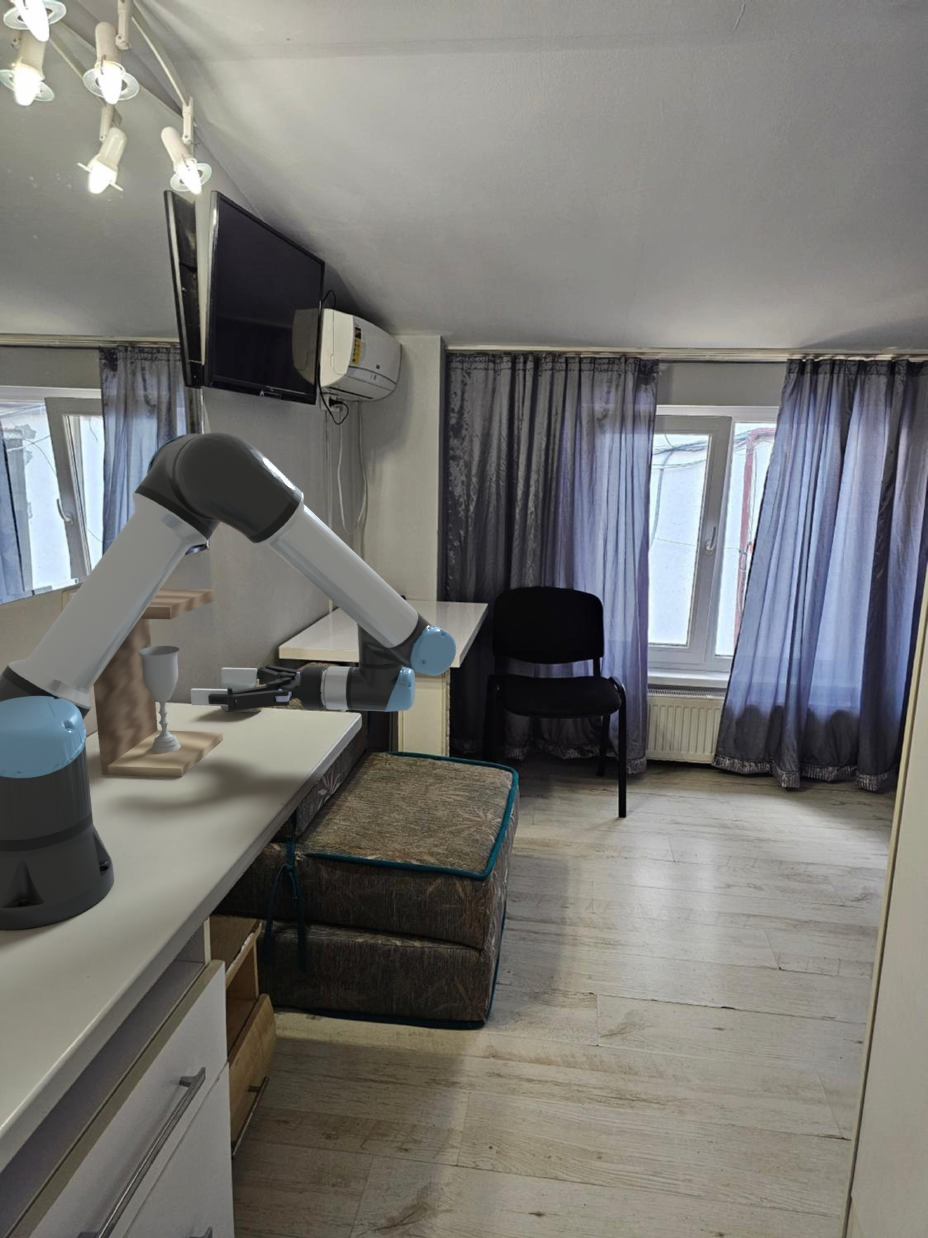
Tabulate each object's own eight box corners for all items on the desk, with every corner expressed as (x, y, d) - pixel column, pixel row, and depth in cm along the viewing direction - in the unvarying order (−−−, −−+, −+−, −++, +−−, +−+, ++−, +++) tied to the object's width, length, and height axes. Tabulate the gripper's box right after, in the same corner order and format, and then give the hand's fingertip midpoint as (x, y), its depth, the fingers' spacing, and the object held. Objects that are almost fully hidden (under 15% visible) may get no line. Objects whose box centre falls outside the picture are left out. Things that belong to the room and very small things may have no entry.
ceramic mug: (255, 717, 159) (254, 681, 158) (218, 715, 160) (217, 679, 159) (275, 703, 170) (274, 669, 168) (240, 701, 171) (238, 667, 169)
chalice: (144, 743, 140) (137, 647, 136) (184, 738, 142) (178, 644, 139) (145, 757, 133) (138, 656, 129) (187, 752, 136) (180, 653, 132)
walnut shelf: (181, 776, 129) (169, 607, 123) (101, 774, 130) (86, 605, 124) (223, 739, 146) (214, 589, 140) (152, 737, 147) (140, 588, 142)
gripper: (308, 732, 122) (179, 729, 124) (342, 688, 147) (234, 686, 148) (306, 687, 121) (175, 684, 122) (341, 650, 145) (232, 648, 147)
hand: (207, 685), depth 135 cm, fingers open, 13 cm apart
